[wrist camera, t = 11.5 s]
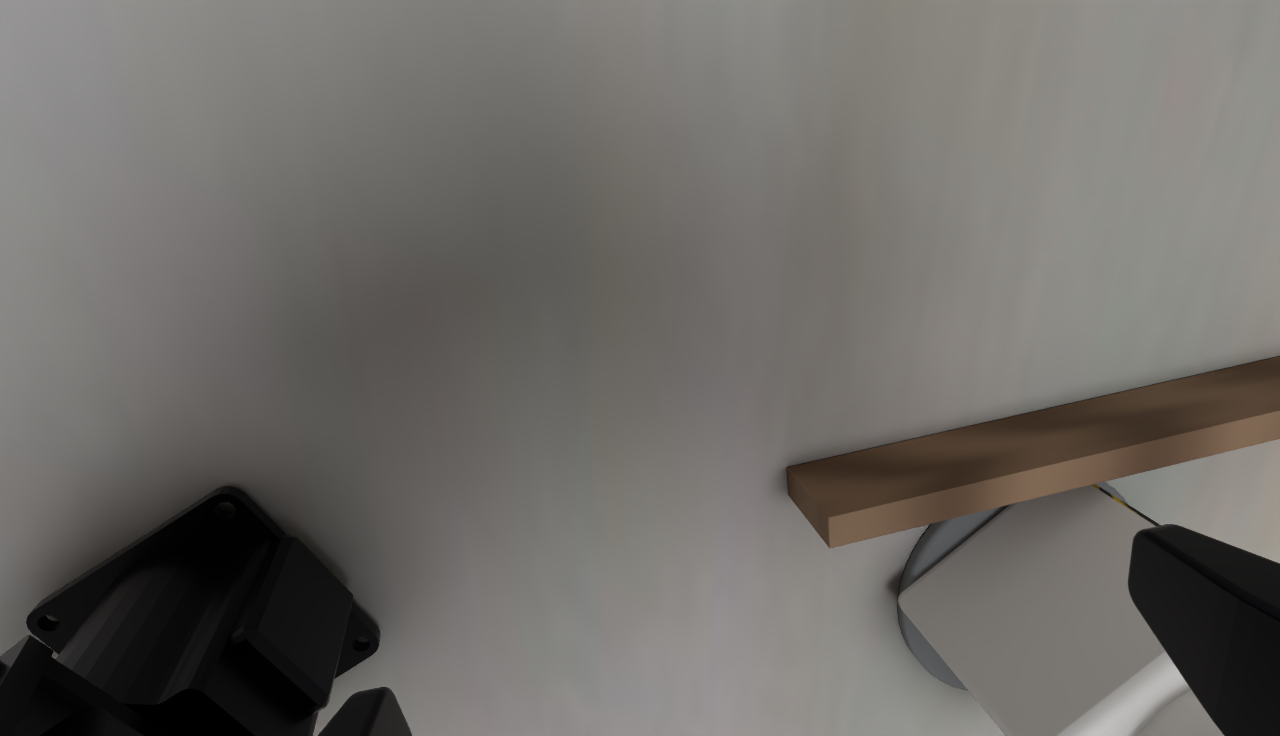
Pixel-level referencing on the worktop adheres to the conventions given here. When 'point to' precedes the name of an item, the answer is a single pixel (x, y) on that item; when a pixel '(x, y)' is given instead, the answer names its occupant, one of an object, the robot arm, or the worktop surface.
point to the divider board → (1037, 453)
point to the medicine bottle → (1055, 623)
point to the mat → (926, 556)
